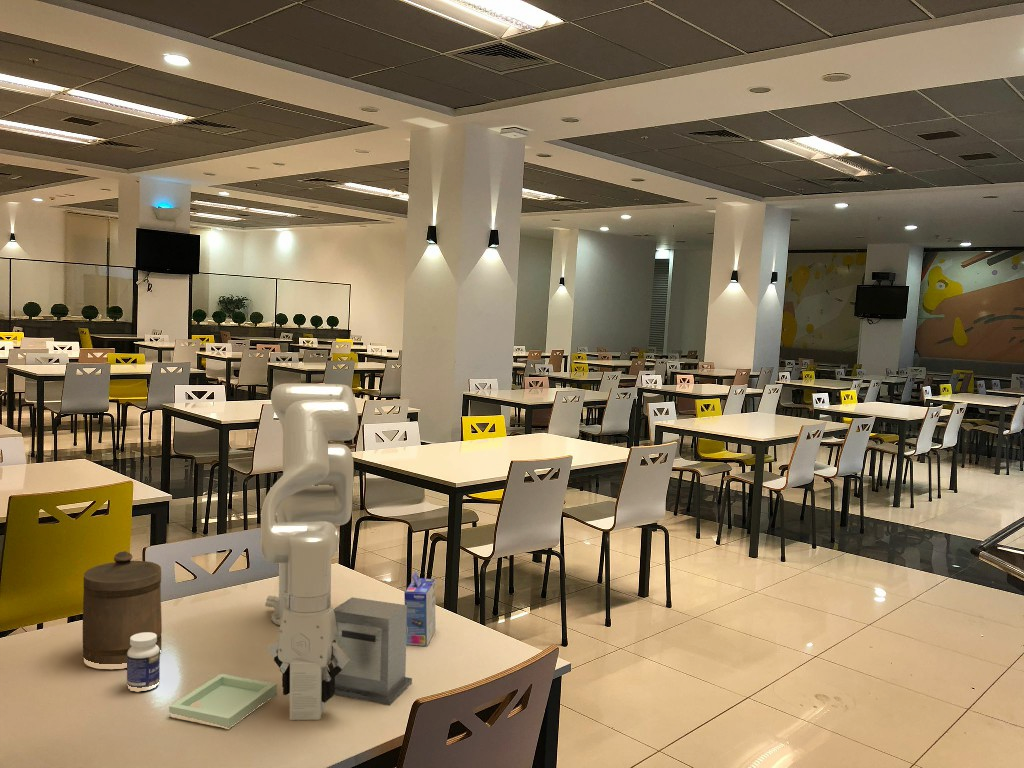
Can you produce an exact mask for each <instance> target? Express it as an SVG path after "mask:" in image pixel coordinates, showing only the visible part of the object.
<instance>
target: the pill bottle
mask: <svg viewBox="0 0 1024 768" xmlns="http://www.w3.org/2000/svg"><path fill="white" fill-rule="evenodd" d="M156 642H157V635H156V634H155V633H151V632H144V633H138V634H135V635H133V636H131V637H130V645H131V646H132V647H131V648H130V649H129V650H128V653H127V669H126V685H127V684H128V685H129V686H131V687H137V688H142V687H149V686H152V685H155V684H157V683H158V682H159V683H160V681H159V680H160V678H161V677H160V674H161V673H160V670H161V669H160V662H161V661H160V659H161V658H160V657H161V656H160V655H161V653H160V649H159V647H158V646H157V645H156V644H155V643H156Z"/></svg>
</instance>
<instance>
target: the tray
mask: <svg viewBox="0 0 1024 768" xmlns="http://www.w3.org/2000/svg"><path fill="white" fill-rule="evenodd" d="M273 696H274V697H275V696H277V683H274V682H269V681H262V680H257V679H252V678H245V677H242V676H241V677H240V676H235V675H230V674H225V673H220V674H218V675H216V676H215V677H213V678H212V679H210V680H209V681H207V682H205V683H204V684H202V685H201V686H199V687H198V688H196V689H194V690H193V691H191V692H190V693H188V694H186V695H184V696H183V697H181V698H180V699H178V700H177V701H175V702H173V704H171V705H169V707H168V708H169V710H168V711H169V712H170V713H172V714H177V715H181V716H185V717H188V718H194V719H197V720H202V721H205V722H209V723H213V724H217V725H220V726H224V727H227V728H230V727H231V726H232V725H234V724H235V723H237V722H238V721H240V720H241V719H242V718H243V717H245V716H246V715H247V714H249V713H250V712H252V711H253V710H254V709H256V708H257V707H258V706H259V705H261V704H262V703H264V702H266V701H267V700H268V699H270V698H271V699H273V698H274V697H273ZM272 697H273V698H272ZM271 699H270V700H271ZM198 700H199V702H200V700H201V702H202V704H201V705H200V704H199V705H200V706H201V707H200V708H195V707H190V705H191V704H192V703H194V702H196V701H198ZM201 702H200V703H201ZM267 702H268V701H267ZM267 702H266V703H267ZM202 706H203V708H202ZM198 707H199V706H198ZM201 708H202V709H201ZM240 722H241V721H240Z"/></svg>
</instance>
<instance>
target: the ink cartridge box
mask: <svg viewBox="0 0 1024 768" xmlns="http://www.w3.org/2000/svg"><path fill="white" fill-rule="evenodd" d="M411 578H412V581H411V582H410V584H409V585H408V587H407V588H406V590H405V591H404V605H407V627H406V644H407V645H409V646H418V645H419V647H421V646H422V647H426V646H428V645H429V643H430V641H431V640H432V637H433V636H434V634H435V631H436V579H435V578H423V577H421V578H420V576H419V574H418V573H417V572H414V573H413V575H412V577H411ZM407 645H406V646H407Z"/></svg>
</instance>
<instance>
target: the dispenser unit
mask: <svg viewBox="0 0 1024 768" xmlns="http://www.w3.org/2000/svg"><path fill="white" fill-rule="evenodd" d="M333 609H334V613H335V618H336V625H337V637H338V646H339V647H340V648H341V649H342V650H343V651H344V652H345V653H346V655H347V656H348V657H349V658H350V662H349V663H348V664H347V665H346V667H345V668H344V669H343V670H342V671H341V672H340V673H339V674H337V675H336V676H335V693H334V695H333V696H337V697H344V698H348V699H354V700H360V701H364V702H370V703H376V704H382V705H386V706H391V705H392V704H393V703H394V701H396V699H398V698H399V697H400V696H401V695H402V694H403V693H404V692H405V691H406V690H407V689H408V688H409V687H408V686H409V685H410V686H411V684H413V678H412V677H408V676H406V664H407V663H406V662H407V645H406V627H407V605H405V604H399V603H396V602H395V603H394V602H389V601H388V602H385V601H379V600H373V599H367V598H359V597H354V596H352V597H350V598H349V599H347V600H346V601H344V602H342V603H341V604H339V605H338V606H336V607H335V608H333ZM333 662H334V664H335V666H337V664H338V663H339V661H338V659H337V658H336V659H335V660H333ZM407 687H408V688H407Z"/></svg>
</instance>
